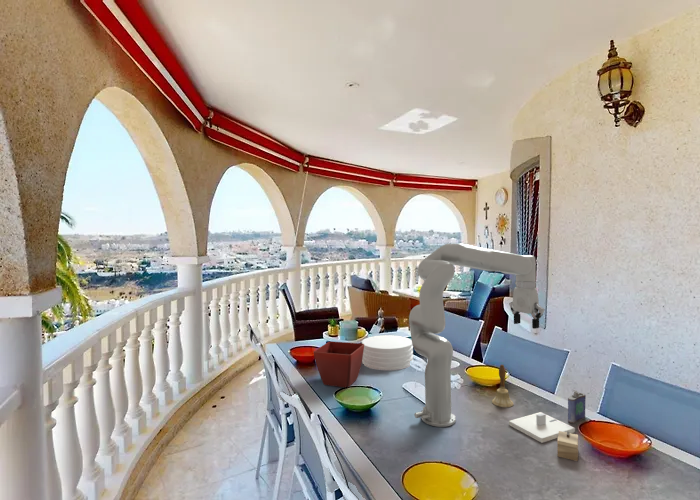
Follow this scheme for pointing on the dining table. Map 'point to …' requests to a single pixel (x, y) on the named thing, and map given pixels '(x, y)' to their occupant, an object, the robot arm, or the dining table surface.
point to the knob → (567, 445)
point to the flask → (576, 407)
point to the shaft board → (540, 426)
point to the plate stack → (387, 352)
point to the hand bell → (502, 391)
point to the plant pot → (339, 362)
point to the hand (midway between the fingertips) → (526, 325)
